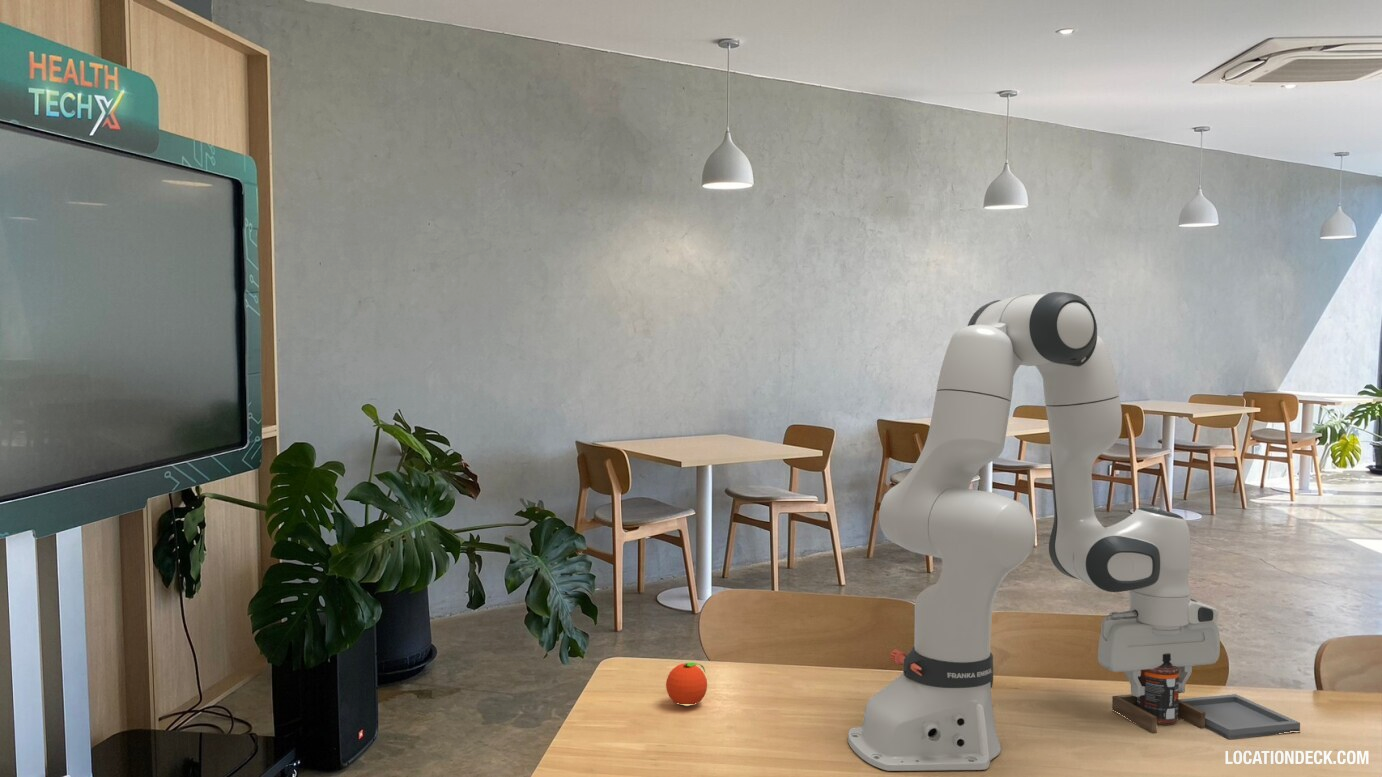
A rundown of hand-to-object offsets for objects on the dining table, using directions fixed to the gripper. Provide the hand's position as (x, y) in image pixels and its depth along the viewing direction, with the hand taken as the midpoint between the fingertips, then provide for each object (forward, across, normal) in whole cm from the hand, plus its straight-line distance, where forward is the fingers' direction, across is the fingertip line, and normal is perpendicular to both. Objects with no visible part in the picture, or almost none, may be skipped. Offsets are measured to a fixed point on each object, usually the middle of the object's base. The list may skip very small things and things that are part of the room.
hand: (1157, 693), depth 155 cm
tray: (+4, +12, -3) cm, 13 cm away
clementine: (+4, -72, +23) cm, 76 cm away
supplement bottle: (+4, 0, 0) cm, 4 cm away
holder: (+4, 0, 0) cm, 4 cm away
